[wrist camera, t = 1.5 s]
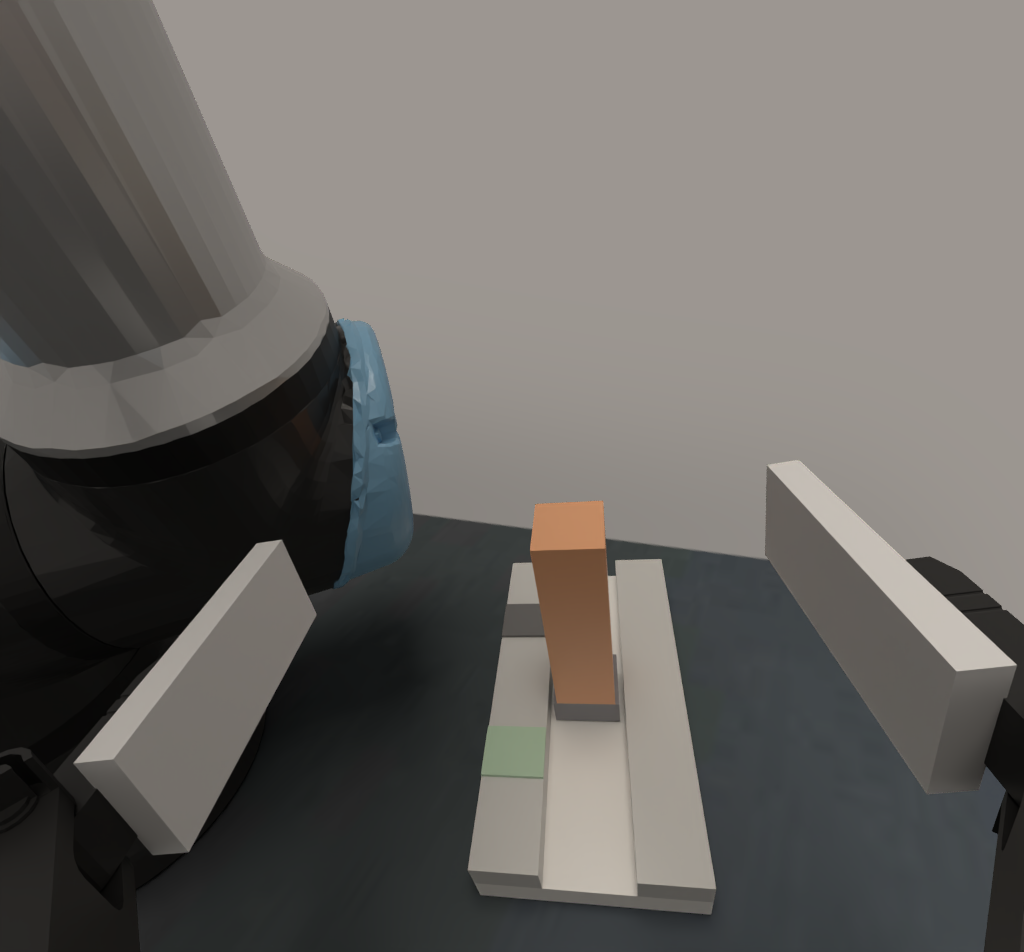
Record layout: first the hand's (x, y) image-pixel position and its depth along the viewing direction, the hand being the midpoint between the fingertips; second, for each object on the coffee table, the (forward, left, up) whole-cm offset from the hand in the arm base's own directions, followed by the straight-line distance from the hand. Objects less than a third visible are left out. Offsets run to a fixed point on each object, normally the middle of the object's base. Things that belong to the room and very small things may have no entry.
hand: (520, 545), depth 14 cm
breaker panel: (-1, +6, -19) cm, 20 cm away
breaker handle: (-1, +6, -17) cm, 19 cm away
